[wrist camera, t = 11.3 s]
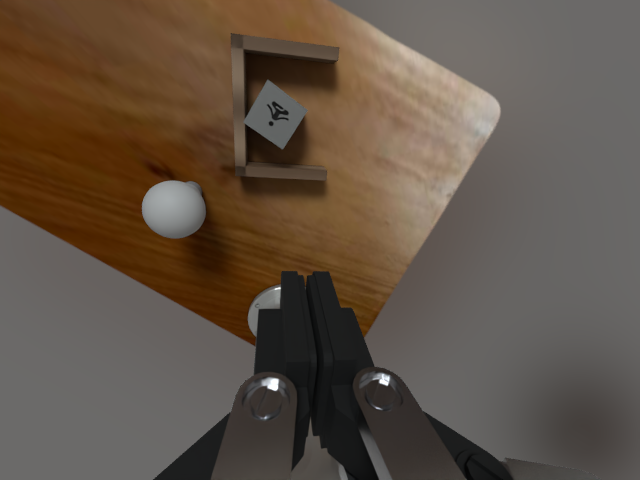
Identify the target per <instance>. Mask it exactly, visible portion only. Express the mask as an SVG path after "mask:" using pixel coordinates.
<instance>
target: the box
mask: <svg viewBox="0 0 640 480" xmlns="http://www.w3.org/2000/svg"><path fill="white" fill-rule="evenodd" d="M246 53H250V54H258V55H267V56H275V57H283V58H292V59H300V60H308V61H316V62H325V63H335V62H336V61H338V56H339V47H331V46H324V45H316V44H309V43H301V42H293V41H286V40H278V39H270V38H263V37H255V36H247V35H240V34H232V33H231V56H232V85H233V114H234V142H235V171H236V176H248V177H267V178H286V179H305V180H324V181H326V179H327V170H326V169H325V168H324V166H311V165H294V164H278V163H261V162H248V157H247V125H246V124H245V123H243V122H244V120H245V118H246V117H247V98H246Z"/></svg>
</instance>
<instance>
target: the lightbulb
mask: <svg viewBox="0 0 640 480" xmlns="http://www.w3.org/2000/svg"><path fill="white" fill-rule="evenodd" d="M201 195H202V189H201V187H200V186H199V185H198V184H197V183H195V182H191V181H189V182H186V183H184V182H180V181H165V182H161V183H159V184H157V185H155V186H153V187H152V188H151V189H150V190H149V191H148V192H147V194H146V195H145V197H144V200H143V203H142V213H143V217H144V220H145V221H146V223H147V225H148V226H149V227H150V228H151V229H152V230H153V231H155V232H156V233H158V234H160V235H162V236H165V237H168V238H182V237H186V236H189V235H191V234H193V233H194V232H196V231H197V230H198V229H199V228H200V227H201V225H202V224H203V222H204V219H205V215H206V206H205V202H204V200H203V198H202V196H201Z"/></svg>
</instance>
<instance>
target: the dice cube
mask: <svg viewBox="0 0 640 480" xmlns="http://www.w3.org/2000/svg"><path fill="white" fill-rule="evenodd" d="M307 111H308V110H307V109H305V108H304V107H303V106H301V105H300V104H299V103H298V102H296V101H295V100H294V99H292V98H291V97H290V96H289V95H287V94H286V93H285V92H283V91H282V90H281V89H279V88H278V87H277V86H276V85H274V84H273V83H272V82H270V81H269V80H267V82H266V83H265V85H264V87H263V89H262V90H261V92H260V94H259V96H258V97H257V99H256V101H255V103H254V104H253V106H252V108H251V110H250V111H249V113H248V115H247V117H246V118H245V120H244V122H243V123H245V124H246V125H248V126H249V127H251V128H252V129H254V130H255V131H256V132H258V133H259V134H261V135H262V136H264V137H265V138H267V139H268V140H269V141H271V142H272V143H274V144H275V145H277V146H278V147H280V148H281V149H284V147H285V145H286V144H287V142H288V141H289V139H290V137H291V136H292V134H293V133H294V131H295V130H296V128H297V126H298V125H299V123H300V122H301V120H302V119H303V117H304V115H305V114H306V112H307Z"/></svg>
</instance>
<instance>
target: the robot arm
mask: <svg viewBox="0 0 640 480" xmlns="http://www.w3.org/2000/svg"><path fill="white" fill-rule="evenodd" d="M248 324H249V327H250V329H251V331H252V333H253V334H254V335H255V336H256V349H255V363H254V375H253V376H251V377H250V378H248V379H247V380H245V382H244V383H243V384H242V385H241V386H240V388H239V389H238V392H237V393H236V396H235V399H234V402H233V406H232V409H231V412H230V413H229V414H227V415H226V416H225V417H224V418H223V419H222V420H221V421H219V422H218V423H217V424H216V425H215V426H214V427H213V428H211V429H210V430H209V431H208V432H207V433H206V434H205V435H204V436H203V437H201V438H200V439H199V440H198V441H197V442H196V443H194V445H192V446H191V447H190V448H189V449H188V450H187V451H185V452H184V453H183V454H182V455H181V456H180V457H179V458H177V459H176V460H175V461H174V462H173V463H172V464H170V465H169V466H168V467H167V468H166V469H165V470H164V471H163V472H161V473H160V474H159V475H158V476H157V477H156V478H155V479H153V480H601V479H600V478H598V477H596V476H595V475H593V474H591V473H588V472H585V471H582V470H579V469H572V468H566V467H560V466H553V465H548V464H541V463H536V462H529V461H523V460H517V459H511V458H504V460H503V461H498V460H497V459H496V458H495V457H493V456H492V455H491V454H490V453H488V452H487V451H485V450H483V449H482V448H480V447H479V446H477V445H476V444H474V443H472V442H471V441H469V440H468V439H466V438H465V437H463V436H461V435H460V434H458V433H457V432H455V431H454V430H452V429H451V428H449V427H447V426H446V425H444V424H443V423H441V422H439V421H438V420H436V419H435V418H433V417H432V416H430V415H429V414H427V413H425V412H424V411H423V410H422V409H421V407H420V406H419V404H418V402H417V401H416V399H415V398H414V396H413V395H412V393H411V391H410V390H409V388H408V387H407V385H406V384H405V383H404V381H403V380H402V379H401V378H400V377H399V376H398V375H396V374H395V373H393V372H392V371H390V370H387V369H385V368H381V367H375V366H374V364H373V361H372V358H371V356H370V353H369V351H368V348H367V345H366V343H365V340H364V337H363V335H362V332H361V330H360V327H359V324H358V322H357V319H356V316H355V314H354V311H353V309H352V308H341V307H340V304H339V301H338V298H337V295H336V292H335V289H334V286H333V283H332V279H331V276H330V273H329V272H320V271H313V274H312V275H308V276H307V282H306V287H305V283H304V277H303V275H298V273H297V271H282V273H281V284H280V285H276V286H273V287H270V288H268V289H266V290H264V291H263V292H261V293H260V294H259V295H258V296H257V297H256V298H255V299H254V300H253V302H252V303H251V305H250V308H249V313H248Z"/></svg>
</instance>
